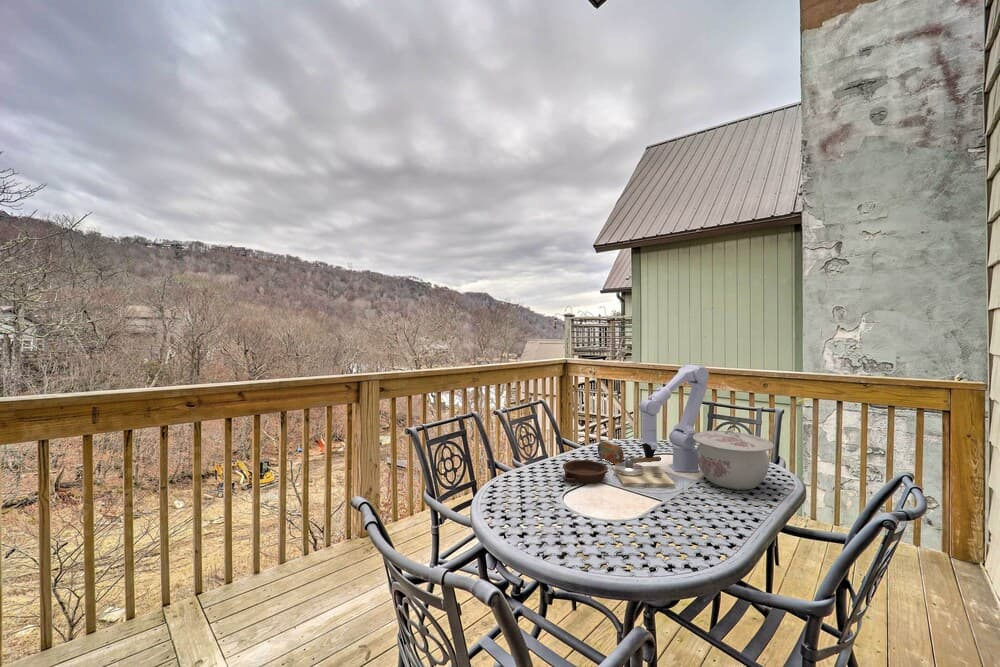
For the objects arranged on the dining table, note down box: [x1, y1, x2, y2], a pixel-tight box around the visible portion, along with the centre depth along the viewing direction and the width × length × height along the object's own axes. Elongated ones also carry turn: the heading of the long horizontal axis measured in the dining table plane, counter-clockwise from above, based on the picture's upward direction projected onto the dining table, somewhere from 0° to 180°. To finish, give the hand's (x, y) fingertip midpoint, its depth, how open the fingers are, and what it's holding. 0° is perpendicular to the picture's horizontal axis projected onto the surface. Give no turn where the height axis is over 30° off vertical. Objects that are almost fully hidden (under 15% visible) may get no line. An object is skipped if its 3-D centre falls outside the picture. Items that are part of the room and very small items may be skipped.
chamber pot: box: [693, 429, 775, 491], centre depth 165 cm, size 28×28×21 cm
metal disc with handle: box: [614, 455, 662, 476], centre depth 175 cm, size 20×11×5 cm, turn 101°
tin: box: [597, 440, 625, 465], centre depth 191 cm, size 15×3×8 cm, turn 25°
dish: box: [562, 459, 609, 485], centre depth 171 cm, size 18×22×5 cm
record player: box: [612, 464, 676, 488], centre depth 171 cm, size 19×20×2 cm
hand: (649, 461), depth 177 cm, fingers closed
